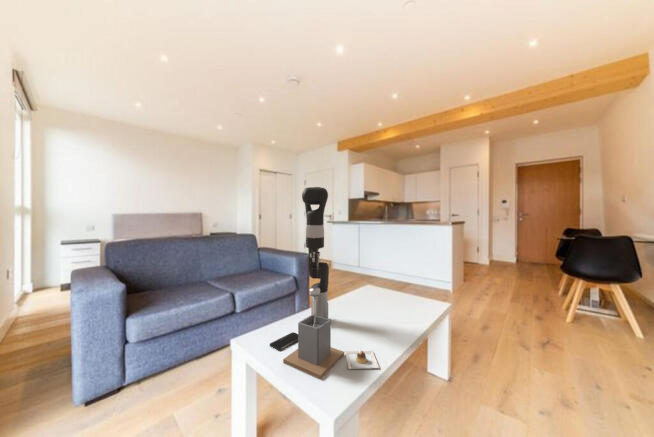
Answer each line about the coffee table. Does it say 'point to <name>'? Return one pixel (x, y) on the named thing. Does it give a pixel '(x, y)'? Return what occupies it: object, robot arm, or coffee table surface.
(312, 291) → the plunger
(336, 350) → the grey square holder
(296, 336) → the phone
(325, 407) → the coffee table surface
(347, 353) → the dessert
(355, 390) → the coffee table surface
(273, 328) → the coffee table surface
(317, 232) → the robot arm
